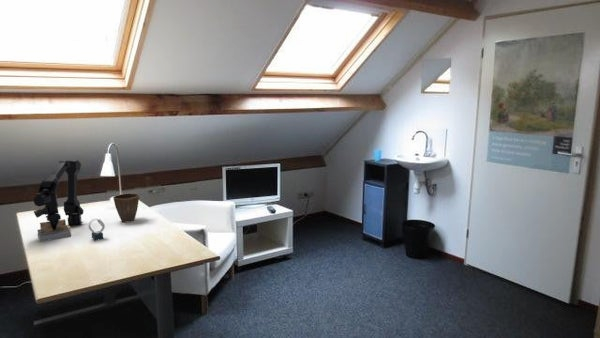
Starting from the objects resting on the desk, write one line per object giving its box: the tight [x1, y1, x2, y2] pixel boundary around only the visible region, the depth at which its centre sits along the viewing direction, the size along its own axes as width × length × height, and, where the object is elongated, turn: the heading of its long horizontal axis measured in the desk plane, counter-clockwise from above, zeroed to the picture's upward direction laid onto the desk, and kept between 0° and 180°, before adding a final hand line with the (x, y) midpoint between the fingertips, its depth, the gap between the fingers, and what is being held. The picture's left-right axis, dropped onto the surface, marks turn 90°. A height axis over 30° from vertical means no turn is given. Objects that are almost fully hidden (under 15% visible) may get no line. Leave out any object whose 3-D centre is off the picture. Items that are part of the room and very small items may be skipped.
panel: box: [39, 219, 67, 233], centre depth 227 cm, size 12×2×6 cm, turn 126°
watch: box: [87, 218, 106, 241], centre depth 222 cm, size 6×8×11 cm
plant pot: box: [113, 193, 140, 223], centre depth 256 cm, size 15×15×16 cm
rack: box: [37, 224, 72, 242], centre depth 228 cm, size 15×15×4 cm
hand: (53, 229), depth 228 cm, fingers closed on panel, 2 cm apart
